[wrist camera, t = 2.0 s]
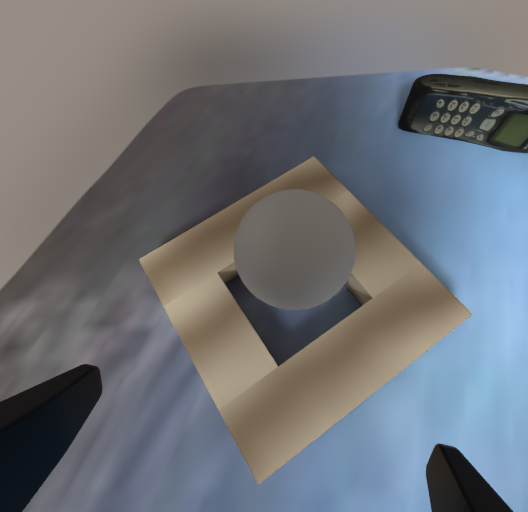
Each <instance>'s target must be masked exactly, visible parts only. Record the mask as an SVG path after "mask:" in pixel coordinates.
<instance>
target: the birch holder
mask: <svg viewBox="0 0 528 512" xmlns="http://www.w3.org/2000/svg"><path fill="white" fill-rule="evenodd" d="M289 189H301V190H307V191H311V192H315V193H317V194H319V195H322V196H324V197H325V198H327V199H328V200H330V201H331V202H333V203H334V204H335V205H336V206H337V207H338V208H339V209H340V210H341V211H342V212H343V213H344V215H345V216H346V218H347V219H348V221H349V224H350V226H351V228H352V231H353V234H354V239H355V262H354V266H353V269H352V272H351V274H350V276H349V278H348V280H347V281H346V283H345V286H346V287H347V288H348V289H349V290H350V292H351V293H352V294H353V295H354V296H355V297H356V299H357V300H358V301H359V302H360V303H361V305H362V306H361V307H360V308H358V309H357V310H356V311H354V312H353V313H352V314H350V315H349V316H347V317H346V318H345V319H343V320H342V321H340V322H339V323H338V324H336V325H335V326H334V327H332V328H331V329H329V330H328V331H327V332H325V333H324V334H322V335H321V336H320V337H318V338H317V339H316V340H314V341H313V342H311V343H310V344H309V345H307V346H306V347H305V348H303V349H302V350H300V351H299V352H298V353H296V354H295V355H293V356H292V357H291V358H289V359H288V360H287V361H285V362H284V363H282V364H281V365H280V366H278V365H277V364H276V362H275V361H274V359H273V358H272V356H271V354H270V353H269V351H268V350H267V348H266V347H265V345H264V344H263V342H262V341H261V339H260V338H259V336H258V334H257V333H256V331H255V330H254V328H253V327H252V325H251V324H250V322H249V321H248V319H247V318H246V316H245V314H244V313H243V311H242V310H241V308H240V307H239V305H238V304H237V302H236V301H235V299H234V298H233V296H232V294H231V293H230V291H229V290H228V288H227V287H226V285H225V283H227V282H228V281H230V280H231V279H233V278H234V277H236V276H238V275H239V274H238V271H237V269H236V265H235V261H234V240H235V235H236V231H237V229H238V227H239V225H240V222H241V220H242V218H243V217H244V215H245V214H246V212H247V211H248V210H249V209H250V208H251V207H252V206H253V205H254V204H255V203H256V202H258V201H260V200H261V199H263V198H264V197H266V196H268V195H270V194H272V193H275V192H278V191H282V190H289ZM139 261H140V263H141V265H142V267H143V269H144V271H145V273H146V274H147V276H148V278H149V280H150V282H151V284H152V286H153V288H154V290H155V291H156V293H157V295H158V297H159V299H160V301H161V303H162V305H163V306H164V308H165V310H166V312H167V314H168V316H169V318H170V320H171V322H172V323H173V325H174V327H175V329H176V331H177V333H178V335H179V337H180V339H181V340H182V342H183V344H184V346H185V348H186V350H187V352H188V354H189V355H190V357H191V359H192V361H193V363H194V365H195V367H196V369H197V371H198V372H199V374H200V376H201V378H202V380H203V382H204V384H205V386H206V388H207V389H208V391H209V393H210V395H211V397H212V399H213V401H214V403H215V404H216V406H217V408H218V410H219V412H220V414H221V416H222V418H223V420H224V421H225V423H226V425H227V427H228V429H229V431H230V433H231V435H232V437H233V438H234V440H235V442H236V444H237V446H238V448H239V450H240V452H241V453H242V455H243V457H244V459H245V461H246V463H247V465H248V467H249V469H250V470H251V472H252V474H253V476H254V478H255V480H256V482H257V484H258V485H259V484H260V483H261V482H263V481H264V480H265V479H266V478H268V477H269V476H270V475H271V474H273V473H274V472H275V471H277V470H278V469H279V468H280V467H282V466H283V465H284V464H285V463H287V462H288V461H289V460H290V459H292V458H293V457H294V456H295V455H297V454H298V453H299V452H300V451H302V450H303V449H304V448H305V447H307V446H308V445H309V444H310V443H312V442H313V441H314V440H315V439H317V438H318V437H319V436H320V435H322V434H323V433H324V432H325V431H327V430H328V429H329V428H331V427H332V426H333V425H334V424H336V423H337V422H338V421H339V420H341V419H342V418H343V417H344V416H346V415H347V414H348V413H349V412H351V411H352V410H353V409H354V408H356V407H357V406H358V405H359V404H361V403H362V402H363V401H364V400H366V399H367V398H368V397H369V396H371V395H372V394H373V393H374V392H376V391H377V390H378V389H380V388H381V387H382V386H383V385H385V384H386V383H387V382H388V381H390V380H391V379H392V378H393V377H395V376H396V375H397V374H398V373H400V372H401V371H402V370H403V369H405V368H406V367H407V366H408V365H410V364H411V363H412V362H413V361H415V360H416V359H417V358H418V357H420V356H421V355H422V354H423V353H425V352H426V351H427V350H428V349H430V348H431V347H432V346H434V345H435V344H436V343H437V342H439V341H440V340H441V339H442V338H444V337H445V336H446V335H447V334H449V333H450V332H451V331H452V330H454V329H455V328H456V327H457V326H459V325H460V324H461V323H462V322H464V321H465V320H466V319H467V318H469V317H470V316H471V315H472V313H471V312H470V311H469V310H468V309H467V308H466V307H465V306H464V305H463V304H462V303H461V302H460V301H459V300H458V299H457V298H456V297H455V296H454V295H453V294H452V293H451V292H450V291H449V290H448V289H447V288H446V287H445V286H444V285H443V284H442V283H441V282H440V281H439V280H438V279H437V278H436V277H435V276H434V275H433V274H432V273H431V272H430V271H429V270H428V269H427V268H426V267H425V266H424V265H423V264H422V263H421V262H420V261H419V260H418V259H417V258H416V257H415V256H414V255H413V254H412V253H411V252H410V251H409V250H408V249H407V248H406V247H405V246H404V245H403V244H402V243H401V242H400V241H399V240H398V239H397V238H396V237H395V236H394V235H393V234H392V233H391V232H390V231H389V230H388V229H387V228H386V227H385V226H384V225H383V224H382V223H381V222H380V221H379V220H378V219H377V218H376V217H375V216H374V215H373V214H372V213H371V212H370V211H369V210H368V209H367V208H366V207H365V206H364V205H363V204H362V203H361V202H360V201H359V200H357V199H356V198H355V197H354V196H353V195H352V194H351V193H350V192H349V191H348V190H347V189H346V188H345V187H344V186H343V185H342V184H341V183H340V182H339V181H338V180H337V179H336V178H335V177H334V176H333V175H332V174H331V173H330V172H329V171H328V170H327V169H326V168H325V167H324V166H323V165H322V164H321V163H320V162H319V161H318V160H317V159H316V158H315V157H314V156H313V157H312V158H310V159H308V160H306V161H305V162H303V163H301V164H300V165H298V166H296V167H295V168H293V169H291V170H290V171H288V172H286V173H284V174H283V175H281V176H279V177H278V178H276V179H274V180H273V181H271V182H269V183H268V184H266V185H264V186H262V187H261V188H259V189H257V190H256V191H254V192H252V193H251V194H249V195H247V196H245V197H244V198H242V199H240V200H239V201H237V202H235V203H234V204H232V205H230V206H229V207H227V208H225V209H223V210H222V211H220V212H218V213H217V214H215V215H213V216H212V217H210V218H208V219H207V220H205V221H203V222H201V223H200V224H198V225H196V226H195V227H193V228H191V229H190V230H188V231H186V232H185V233H183V234H181V235H179V236H178V237H176V238H174V239H173V240H171V241H169V242H168V243H166V244H164V245H163V246H161V247H159V248H157V249H156V250H154V251H152V252H151V253H149V254H147V255H146V256H144V257H142V258H140V259H139Z"/></svg>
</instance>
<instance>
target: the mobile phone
mask: <svg viewBox="0 0 528 512" xmlns="http://www.w3.org/2000/svg"><path fill="white" fill-rule="evenodd" d="M398 126H399V128H400V129H402V130H405V131H409V132H415V133H421V134H426V135H432V136H438V137H443V138H449V139H455V140H460V141H465V142H469V143H474V144H478V145H483V146H487V147H491V148H495V149H498V150H502V151H510V152H521V153H528V85H525V84H517V83H508V82H501V81H494V80H488V79H483V78H478V77H470V76H457V75H446V74H430V75H425V76H422V77H419V78H418V79H416V80H415V81H414V83H413V86H412V88H411V90H410V93H409V96H408V98H407V101H406V104H405V106H404V109H403V112H402V114H401V117H400V120H399V123H398Z"/></svg>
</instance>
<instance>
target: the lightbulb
mask: <svg viewBox="0 0 528 512" xmlns="http://www.w3.org/2000/svg"><path fill="white" fill-rule="evenodd" d="M234 261H235V265H236V269H237V271H238V274H239V276H240V278H241V280H242V282H243V283H244V285H245V286H246V287H247V289H248V290H249V291H250V292H251V293H252V294H253V295H254V296H256V297H257V298H258V299H260V300H261V301H263V302H265V303H267V304H268V305H271V306H274V307H277V308H280V309H285V310H292V311H293V310H305V309H309V308H312V307H316V306H318V305H320V304H322V303H324V302H326V301H328V300H330V299H331V298H332V297H333V296H335V295H336V294H337V293H338V292H339V291H340V290H341V289H342V287H343V286H344V285H345V283H346V281H347V280H348V278H349V276H350V274H351V272H352V269H353V266H354V262H355V239H354V234H353V231H352V228H351V226H350V224H349V221H348V219H347V218H346V216H345V215H344V213H343V212H342V211H341V210H340V209H339V208H338V207H337V206H336V205H335V204H334V203H333V202H331V201H330V200H328V199H327V198H325V197H324V196H322V195H319V194H317V193H315V192H311V191H307V190H301V189H289V190H282V191H278V192H275V193H272V194H270V195H268V196H266V197H264V198H263V199H261V200H260V201H258V202H256V203H255V204H254V205H253V206H252V207H251V208H250V209H249V210H248V211H247V212H246V214H245V215H244V217H243V218H242V220H241V222H240V225H239V227H238V229H237V231H236V235H235V240H234Z"/></svg>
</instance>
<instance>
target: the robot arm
mask: <svg viewBox="0 0 528 512" xmlns="http://www.w3.org/2000/svg"><path fill="white" fill-rule="evenodd" d="M101 394H102V381H101V374H100V369H99V368H98V367H97V366H93V365H88V364H83V365H80V366H78V367H76V368H74V369H72V370H69V371H67V372H65V373H63V374H61V375H58V376H56V377H54V378H52V379H50V380H47V381H45V382H43V383H41V384H39V385H36V386H34V387H32V388H30V389H28V390H25V391H23V392H21V393H19V394H17V395H14V396H12V397H10V398H8V399H6V400H3V401H1V402H0V512H22V511H23V510H24V508H25V507H26V506H27V504H28V503H29V502H30V500H31V499H32V498H33V496H34V495H35V494H36V492H37V491H38V489H39V488H40V487H41V485H42V484H43V483H44V481H45V480H46V479H47V477H48V476H49V475H50V473H51V472H52V471H53V469H54V468H55V466H56V465H57V464H58V462H59V461H60V460H61V458H62V457H63V455H64V454H65V453H66V451H67V450H68V448H69V447H70V445H71V444H72V442H73V440H74V439H75V437H76V435H77V434H78V432H79V431H80V429H81V427H82V426H83V424H84V423H85V421H86V419H87V418H88V416H89V414H90V413H91V411H92V410H93V408H94V406H95V405H96V403H97V401H98V400H99V398H100V396H101ZM426 478H427V484H428V490H429V497H430V503H431V509H432V512H513V511H512V510H511V508H510V507H509V506H508V505H507V504H506V503H505V502H504V501H503V499H502V498H501V497H500V496H499V495H498V494H497V493H496V492H495V490H494V489H493V488H492V487H491V486H490V485H489V484H488V483H487V481H486V480H485V479H484V478H483V477H482V476H481V475H480V473H479V472H478V471H477V470H476V469H475V468H474V467H473V466H472V464H471V463H470V462H469V461H468V460H467V459H466V458H465V457H464V455H463V454H462V453H461V452H460V451H459V450H458V449H457V448H455V447H453V446H448V445H444V444H437V445H435V447H434V449H433V452H432V454H431V456H430V459H429V461H428V464H427V467H426Z"/></svg>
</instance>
